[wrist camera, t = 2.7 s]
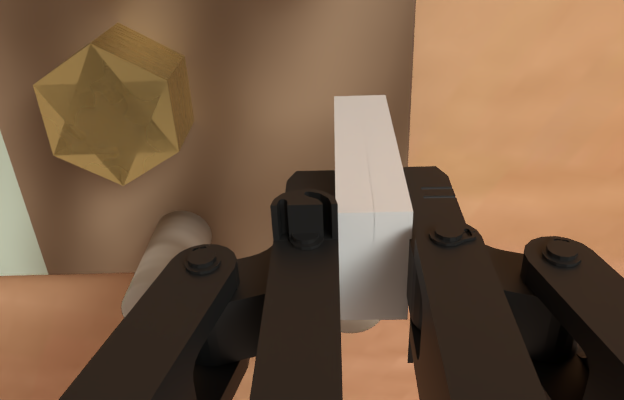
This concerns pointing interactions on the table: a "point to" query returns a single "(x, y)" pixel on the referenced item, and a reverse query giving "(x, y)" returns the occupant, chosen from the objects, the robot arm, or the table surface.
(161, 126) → the wooden star polyhedron
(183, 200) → the board
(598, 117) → the table surface
